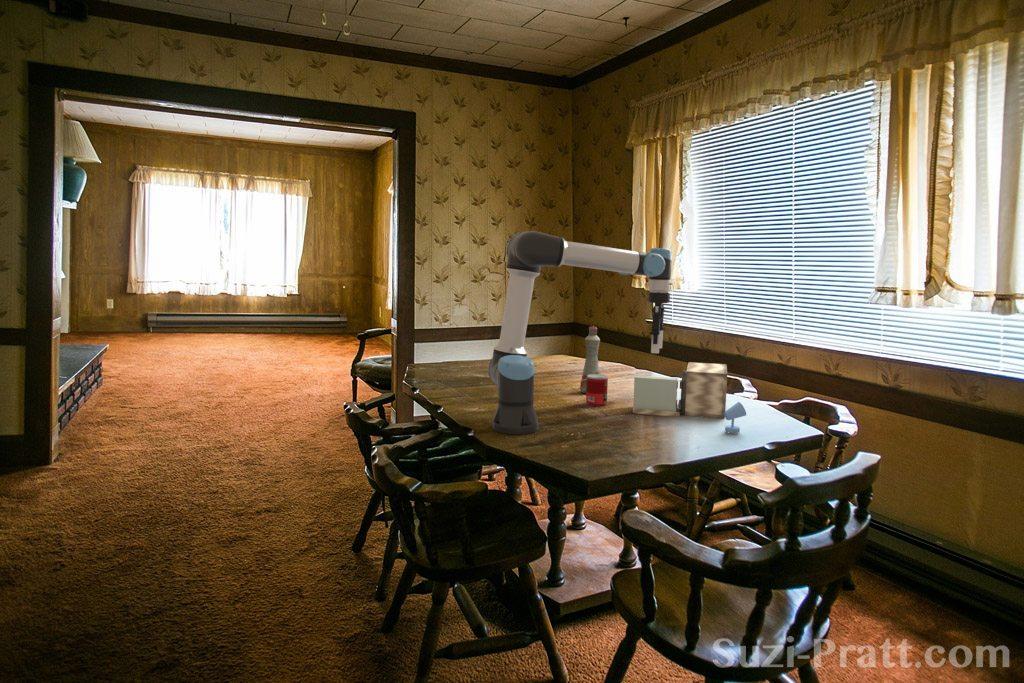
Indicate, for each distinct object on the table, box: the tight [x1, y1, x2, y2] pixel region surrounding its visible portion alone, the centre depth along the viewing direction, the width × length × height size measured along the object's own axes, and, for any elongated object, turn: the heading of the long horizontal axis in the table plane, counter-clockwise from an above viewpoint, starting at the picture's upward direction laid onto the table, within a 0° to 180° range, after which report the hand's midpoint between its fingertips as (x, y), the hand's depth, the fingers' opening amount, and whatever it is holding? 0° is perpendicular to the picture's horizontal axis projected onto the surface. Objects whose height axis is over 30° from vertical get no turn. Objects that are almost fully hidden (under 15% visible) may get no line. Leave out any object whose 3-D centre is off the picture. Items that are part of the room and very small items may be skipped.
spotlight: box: [724, 401, 747, 434], centre depth 215 cm, size 5×10×7 cm
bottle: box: [579, 325, 601, 395], centre depth 273 cm, size 9×9×28 cm
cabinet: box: [632, 361, 728, 419], centre depth 246 cm, size 32×25×16 cm
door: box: [632, 375, 679, 412], centre depth 240 cm, size 15×4×13 cm, turn 73°
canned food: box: [585, 373, 609, 407], centre depth 253 cm, size 8×8×11 cm
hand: (656, 350), depth 239 cm, fingers open, 13 cm apart
